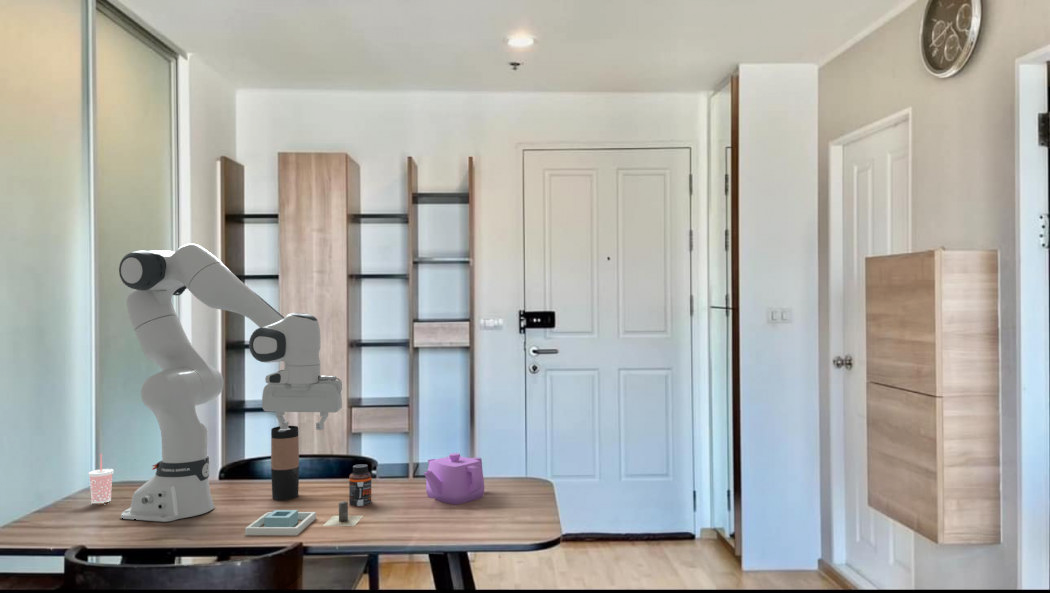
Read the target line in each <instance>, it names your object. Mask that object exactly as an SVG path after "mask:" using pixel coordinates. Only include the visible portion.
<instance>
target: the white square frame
mask: <svg viewBox="0 0 1050 593" xmlns="http://www.w3.org/2000/svg"><path fill="white" fill-rule="evenodd" d="M271 512H272V511H267V512H266V513H264V514H263V515H261V516H260V517H259V518H257V519H255V521H253V522H252V523H250V524H249V525H248V526H246V527H245V528H244V536H298V535H299V534H301V533H302V532H303V531H304V530H305V529H306V528H307V527H308V526H309V525H310V524H312V523H313V522H314V521H315V520H317V512H316V511H298V521H299V520H300V522H298V523H297V524H296V525H295V526H294V527H264V526H263V525H264V517H266V516H267V515H269V514H270V513H271ZM301 520H302V521H301Z"/></svg>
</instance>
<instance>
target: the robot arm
mask: <svg viewBox="0 0 1050 593" xmlns="http://www.w3.org/2000/svg"><path fill="white" fill-rule="evenodd" d="M118 273H119V278H120V280H121V282H122V283H123V285H125V286H126V287H128V288H130V289H132V290H131V291H130V292H129V294H128V295H127V297H126V307H127V308H126V309H127V312H128V316H129V319H130V323H131V326H132V328H133V331H134V332H135V335H136V337H137V339H138V342H139V344H140V346H141V347H140V348H141V349H142V351H143V354H144V356H145V357H146V358H147V359H148V360H149V361H151V362H153V363H155V364H156V365H157V366H158V367H160V368H161V370H162V371H159V372H157V373H154V374H152V375H150V376H149V377H148V378H146V379H145V380H144V382H143V383H142V386H141V389H140V396H141V399H142V400H141V401H142V402H143V405H145V407H147V408H148V409H149V410H150V411H152V412H153V415H154V417H155V419H156V420H157V423H158V425H159V429H160V438H161V460H160V461H158V462H157V463H155V464H153V465H152V467H153V468H151V470H153V471H154V470H156V472H155V474H154V476H152V477H151V478H150V479H149V480H147V481H146V482H144V484H142V485H141V486H140V487H138V488H136V490H135V491H134V493H133V494H132V498H131V502H130V507H129V508H127V509H125V510H124V511H122V512H121V514H120V519H122V518H123V519H122V520H134V519H136V520H137V521H148V522H149V521H150V522H162V523H167V522H172V521H176V520H180V519H185V518H190V517H196V516H200V515H203V514H206V513H208V512H210V511H212V510H213V509H215V505H214V502H213V498H212V494H211V489H210V481H209V477H210V457H209V456H208V430H207V427H206V426H205V424H203V423H201V421H200V419H199V417H198V413H197V411H196V406H200V405H205V404H207V403H209V402H210V401H212V400H214V399H215V398H217V397H218V396H219V395H220V394H221V393H222V391H223V389H224V385H225V384H224V383H225V382H224V378H223V375H222V373H221V371H219V370H218V369H217V368H215V367H213V366H211V364H209V363H208V362H207V361H205V360H204V358H203V357H202V356H201V354H200V353H198V351H197V350H196V348H195V347H194V346H193V345H192V343H191V342H190V340H189V339H188V336H187V334H186V332H185V330H184V328H183V325H182V323H181V321H180V319H179V317H178V315H177V312H176V310H175V308H174V306H173V303H172V297H173V296H180V295H182V294H183V293H184V292H185V291H186V290H188V291H189V292H190V293H191V294H192V295H193V296H194V297H195V298H196V299H197V300H199V301H200V302H201V303H202V304H204V305H205V306H208V307H210V308H211V309H216V310H220V311H227V312H232V313H234V314H239V315H241V316H244V317H245V318H248V320H250V321H251V322H253V323H254V324H255V325H256V326H258V328H256V329H255V330H254V331H253V332H252V333H251V335H250V338H249V341H248V349H249V352H250V354H251V355H252V357H253V358H254V359H255V360H256V361H259V362H261V363H267V364H269V363H280V362H284V363H283V364H284V369H281V370H278V371H276V372H273V373H270V374H268V375H265V381H264V382H265V383H266V385H264V387H263V390H262V397H261V408H262V409H263V411H264V412H269V413H270V412H273V413H274V412H275V417H276V419H277V420H278V422H279V423H280V424H279V426H280V429H288V426H289V424H290V423H289V421H287V420H285V417H284V415H285V413H320V415H319V416H320V417H321V419H320V420H319V421H318V422H316V423H315V429H316V430H317V431H319V430H320V431H322V430H325V421H326V420H327V418H328V417H329V413H332V414H333V413H337V412H339V411H341V409H342V408H343V398H342V393H341V392H342V390H343V384H342V380H341V379H340V378H339V377H337V376H336V375H335V376H333V375H321V360H320V350H321V327H320V323H319V320H318V318H316V316H314V315H311V314H308V313H303V312H302V313H300V312H291V313H288V314H287V315H286V316H283V315H282V314H281V313H279V312H278V311H277V310H276V309H275V308H274V307H273V306H271V305H270V304H269V303H268V302H267V301H266V300H265V299H263V298H262V297H261V296H260V295H258V294H257V293H256V292H255V291H254V290H252V289H251V288H250V287H249V286H248V285H246V284H245V283H244V282H243V281H242V280H240V279H239V278H238V277H237V275H235V274H234V273H233V272H232V271H231V270H230V269H229V268H228V267H227V266H226V265H225V264H224V263H223V262H222V261H221V260H220V259H219V258H217V257H216V256H215V255H214V254H213V253H211V252H210V251H208V250H207V249H206V248H204V247H203V246H201V245H199V244H196V243H187V244H184V245H182V246H180V247H178V248H177V249H176V250H175V251H173V250H168V249H167V250H166V249H165V250H164V249H158V250H145V249H144V250H143V249H142V250H141V249H140V250H137V251H136V250H135V251H132V252H130V253H127V254H125V255H124V256H123V258H122V259H121V260H120V263H119V268H118ZM136 520H135V521H136Z"/></svg>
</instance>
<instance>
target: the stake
mask: <svg viewBox="0 0 1050 593" xmlns="http://www.w3.org/2000/svg"><path fill="white" fill-rule="evenodd" d="M363 517H364V515H349V502H348V501H345V500H344V501H340V502H338V515H332V516H331V517H330V518H329V519H328V520H327V521H325V523H324V524H323V525H322V526H323V527H355V526H356V525H357V523H358V522H360V521H361V519H362V518H363Z"/></svg>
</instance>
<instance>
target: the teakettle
mask: <svg viewBox="0 0 1050 593" xmlns="http://www.w3.org/2000/svg"><path fill="white" fill-rule="evenodd" d="M427 462H428V468H427V471H425V472H423V474H424V476H425V479H426V482H425V483H426V484H425V489H426V490H425V491H426V495H427V497H428V498H430V499H434V500H435V501H437V502H441V503H444V502H445V504H449V505H455V506H456V505H457V506H458V505H462V504H465V503H468V502H472V501H475V500H478V499H481V498H483V497H484V493H485V479H484V474H483V473H484V472H483V461H482V458H481V457H477V456H476V457H468V456H467V457H466V456H462V455H461V453H458V452H452V453H450V454H449V456H446V457H440V458H432V459H427Z"/></svg>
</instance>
